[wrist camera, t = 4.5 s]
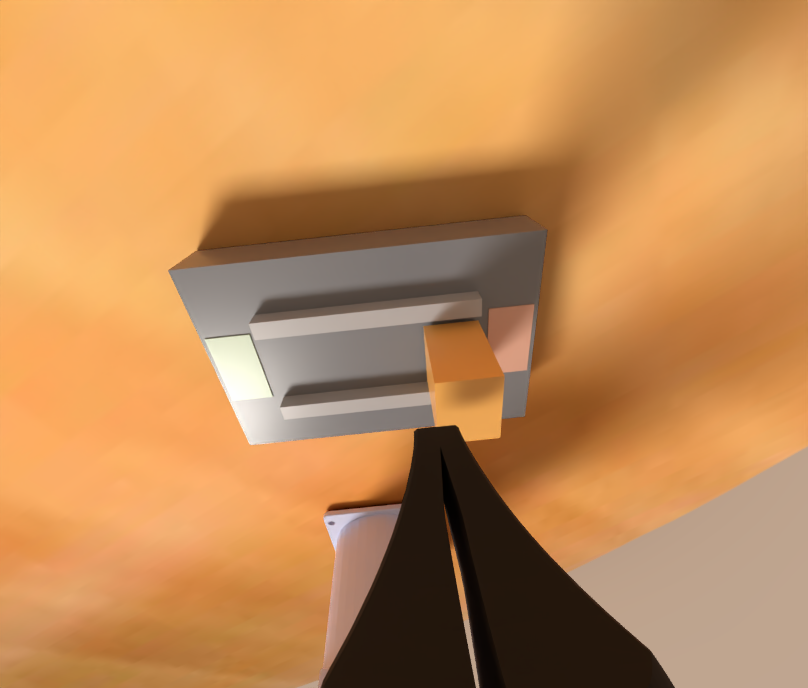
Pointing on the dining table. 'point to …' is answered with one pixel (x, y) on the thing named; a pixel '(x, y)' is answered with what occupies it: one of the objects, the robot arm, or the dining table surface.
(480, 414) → the handle
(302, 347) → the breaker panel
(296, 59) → the dining table surface
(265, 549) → the dining table surface
